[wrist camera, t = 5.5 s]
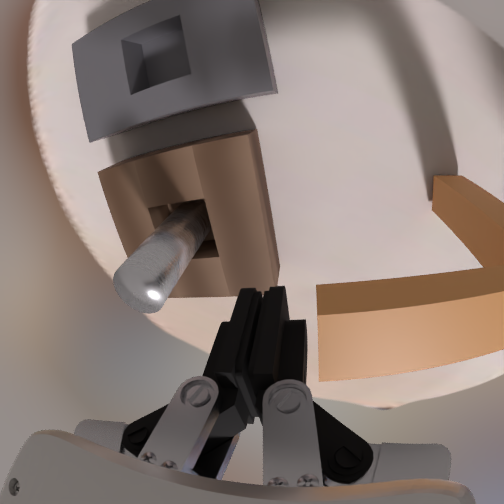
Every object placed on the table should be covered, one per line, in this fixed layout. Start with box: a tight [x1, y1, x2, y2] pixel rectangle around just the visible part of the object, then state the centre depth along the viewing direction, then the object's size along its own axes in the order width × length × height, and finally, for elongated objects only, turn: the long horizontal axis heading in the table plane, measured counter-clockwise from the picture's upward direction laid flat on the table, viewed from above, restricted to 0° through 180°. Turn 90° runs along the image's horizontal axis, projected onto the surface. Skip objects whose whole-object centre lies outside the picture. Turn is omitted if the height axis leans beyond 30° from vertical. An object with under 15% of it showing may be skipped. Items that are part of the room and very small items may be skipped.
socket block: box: [98, 129, 280, 298], centre depth 22 cm, size 12×12×4 cm
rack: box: [72, 0, 278, 142], centre depth 15 cm, size 14×9×4 cm, turn 101°
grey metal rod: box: [113, 199, 212, 313], centre depth 18 cm, size 3×3×10 cm
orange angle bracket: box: [316, 176, 504, 382], centre depth 13 cm, size 14×4×15 cm, turn 101°
